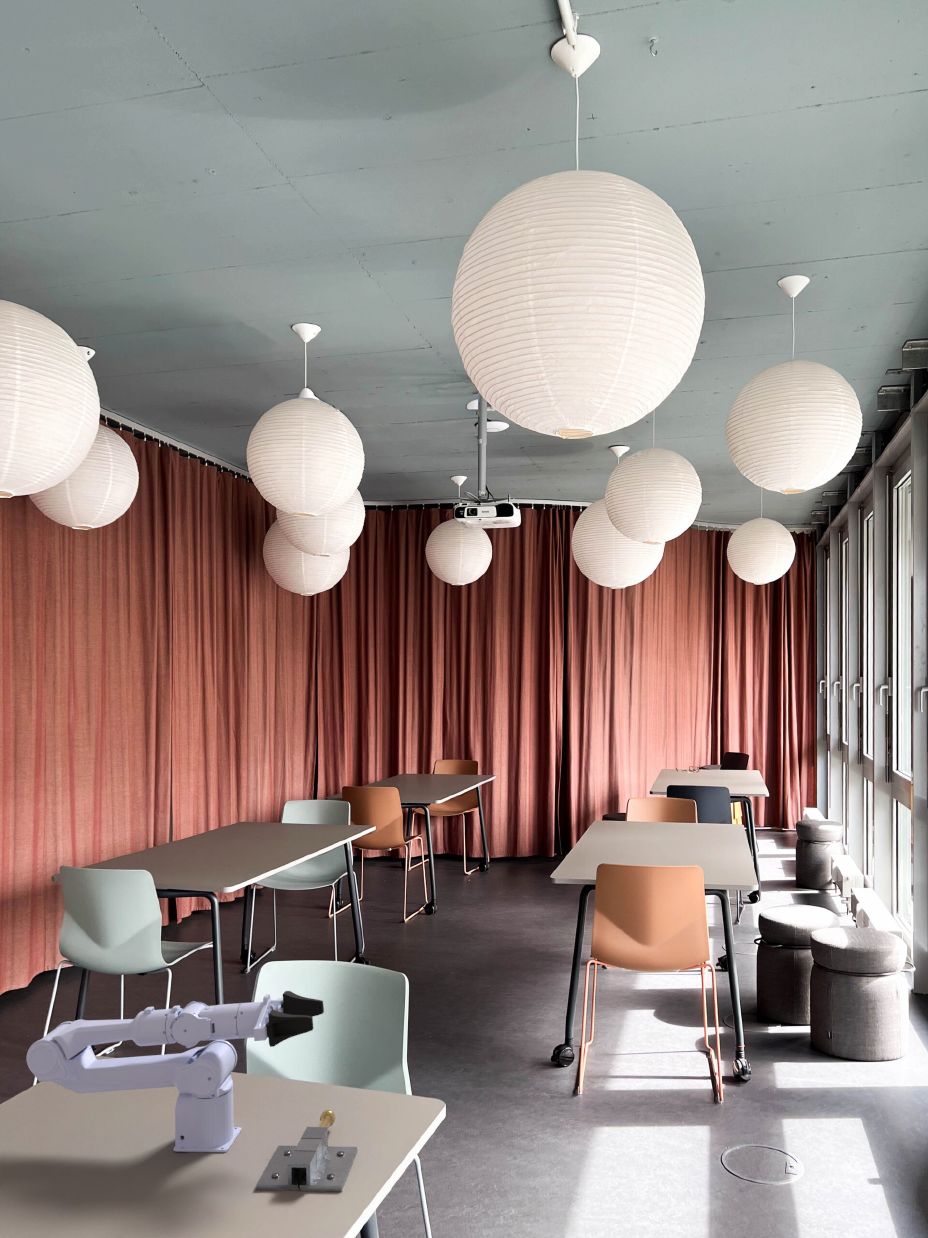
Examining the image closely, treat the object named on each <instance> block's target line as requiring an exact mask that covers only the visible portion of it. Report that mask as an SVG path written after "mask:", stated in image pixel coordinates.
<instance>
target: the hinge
mask: <svg viewBox="0 0 928 1238" xmlns="http://www.w3.org/2000/svg"><path fill="white" fill-rule="evenodd" d="M328 1135H329V1128H328V1127H318V1126H306V1128H305V1130H304V1131H303V1133H302V1135H301V1138H300V1139H299V1141H298V1143H297V1145H278V1146H277V1147H276V1150H275V1151H274V1153H273V1155H272V1156H271V1158H270V1160H269V1161H268V1163H267V1165H266V1167H265V1169H264V1171H263V1172H262V1173H261V1175H260V1178H259V1179H258V1181H257V1183H256V1190H259V1191H261V1190H262V1191H267V1190H268V1191H298V1190H300V1191H302V1192H303V1191H309V1192H310V1191H311V1192H343V1189H344V1187H345V1185H346V1182H347V1179H348V1177H349V1173H350V1172H351V1169H352V1166H353V1163H354V1162H355V1159H356V1156H357V1154H358V1146H334V1145H333V1146H331V1145H330V1146H329V1136H328Z"/></svg>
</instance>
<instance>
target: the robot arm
mask: <svg viewBox="0 0 928 1238" xmlns="http://www.w3.org/2000/svg"><path fill="white" fill-rule="evenodd" d="M324 1012H325V1008H324V1000H322V999H316V998H311V997H307V996H306V997H304V996H301V995H299V994H296V993H294V992H293V991H291V990H285V991H284V992H283V993H282V997H281V998H277V999H271V995H270V993H267V994H265V995H264V996H263V998H262V1001H254V1002H253V1001H252V1002H239V1003H226V1004H225V1003H224V1004H216V1005H207V1004H206V1003H204V1002H201V1001H193V1000H192V1001H190V1002H189V1003H187V1004H186V1005H185V1007H183V1008H182V1007H181V1005H180V1004H179V1005H174V1006H173V1007H172V1008H166V1009H164V1008H163V1009H155V1007H154V1006H147V1007H146V1008H144V1009H143V1010H141V1011H140V1012H138V1013H137V1015H136V1016H135V1017H134V1018H128V1019H127V1018H126V1019H125V1018H124V1019H123V1018H122V1019H96V1020H95V1019H94V1020H92V1019H91V1020H86V1019H83V1018H82V1019H77V1020H73V1021H69V1020H68V1021H64V1022H63V1021H62V1023H59V1024H58V1025H57V1026H56V1027H55V1028H54V1029H53V1030H51V1031H50V1032H48V1033H47V1034H46V1035H45V1036H43V1037H42V1038H41V1039H39V1040H36V1041H34V1042H33V1043H32V1044H31V1045H30V1046H29V1048H28V1050H27V1053H26V1057H25V1059H26V1064H27V1065H26V1066H28V1067H27V1068H28V1069H29V1070H30V1071H31V1073H32V1074H33V1075H34V1077H35V1078H36V1079H37V1081H39V1083H54V1084H56V1085H57V1086H60V1087H63V1088H64V1089H68V1090H69V1091H71V1092H74V1093H77V1094H91V1093H92V1094H93V1093H105V1092H106V1093H108V1092H119V1091H121V1092H122V1091H133V1090H149V1089H161V1088H176V1089H177V1092H179V1094H178V1096H177V1099H176V1104H175V1111H174V1124H175V1125H174V1127H175V1129H174V1131H175V1132H174V1133H175V1134H174V1135H175V1138H174V1139H175V1143H174V1145H175V1146H174V1147H173V1152H181V1153H182V1152H183V1153H187V1152H188V1153H228V1151H229V1150H230V1148H231V1147H232V1146H233V1144H234V1142H235V1141H236V1139H237V1138H238V1136H239V1135H240V1134H241V1132H242V1127H239V1126H234V1081H233V1079H232V1078H233V1077H232V1072H233V1071H234V1069H235V1068H236V1066H237V1062H238V1054H237V1053H238V1052H237V1051H236V1049H235V1047H234V1045H233V1044H232V1043H230V1042H229V1041H227V1040H236V1039H237V1040H238V1039H252V1038H253V1041H254V1042H260V1041H266V1040H267V1039H268V1045H269V1047H271V1048H272V1047H273V1048H274V1047H276V1046H278V1045H279V1044H281V1043H282V1042H284V1041H286V1040H288V1039H290V1038H293V1037H296V1036H299V1035H302V1034H305V1033H310V1032H312V1031H313V1030H314V1017H317V1016H320V1015H323V1014H324ZM130 1040H132V1041H133V1042H134V1044H135V1045H136V1046H139V1047H147V1046H148V1047H149V1046H159V1045H171V1044H176V1043H178V1044H179V1045H181V1046H184V1047H185V1048H186V1049H189V1050H186V1051H184V1052H181V1053H167V1054H157V1055H156V1054H155V1055H153V1054H152V1055H142V1056H140V1055H139V1056H129V1057H126V1056H125V1057H117V1058H116V1057H115V1058H102V1059H97V1057H96V1055H95V1053H94V1051H93V1048H92V1046H97V1045H103V1044H111V1043H118V1042H126V1041H130ZM205 1041H211V1042H210V1043H208V1044H207V1045H203V1046H196V1045H198V1044H199V1042H205ZM195 1046H196V1047H195ZM193 1047H194V1048H193ZM190 1048H191V1049H190Z"/></svg>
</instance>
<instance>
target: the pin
mask: <svg viewBox="0 0 928 1238" xmlns="http://www.w3.org/2000/svg"><path fill="white" fill-rule="evenodd" d="M335 1121H336V1114H335V1112H334V1111H333V1110H331V1109H325V1110H324V1111H322V1113H321V1115H320V1117H319V1124H318V1125H317V1127H328V1129H329V1128H330V1127H332V1126H333V1125H334V1123H335Z"/></svg>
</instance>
